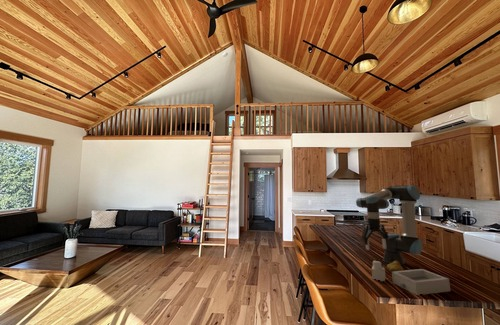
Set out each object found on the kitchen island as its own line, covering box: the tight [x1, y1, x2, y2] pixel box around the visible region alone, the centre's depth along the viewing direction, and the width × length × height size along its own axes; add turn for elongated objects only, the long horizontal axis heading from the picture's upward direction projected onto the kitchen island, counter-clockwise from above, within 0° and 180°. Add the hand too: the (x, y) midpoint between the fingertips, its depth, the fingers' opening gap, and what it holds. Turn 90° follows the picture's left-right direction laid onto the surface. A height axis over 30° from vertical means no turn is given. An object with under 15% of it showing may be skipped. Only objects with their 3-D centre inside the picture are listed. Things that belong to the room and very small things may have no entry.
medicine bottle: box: [371, 259, 386, 282], centre depth 148 cm, size 7×7×12 cm
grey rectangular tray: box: [391, 268, 451, 296], centre depth 135 cm, size 17×26×7 cm, turn 100°
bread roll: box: [386, 261, 405, 274], centre depth 157 cm, size 13×10×8 cm
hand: (376, 248), depth 150 cm, fingers open, 13 cm apart
